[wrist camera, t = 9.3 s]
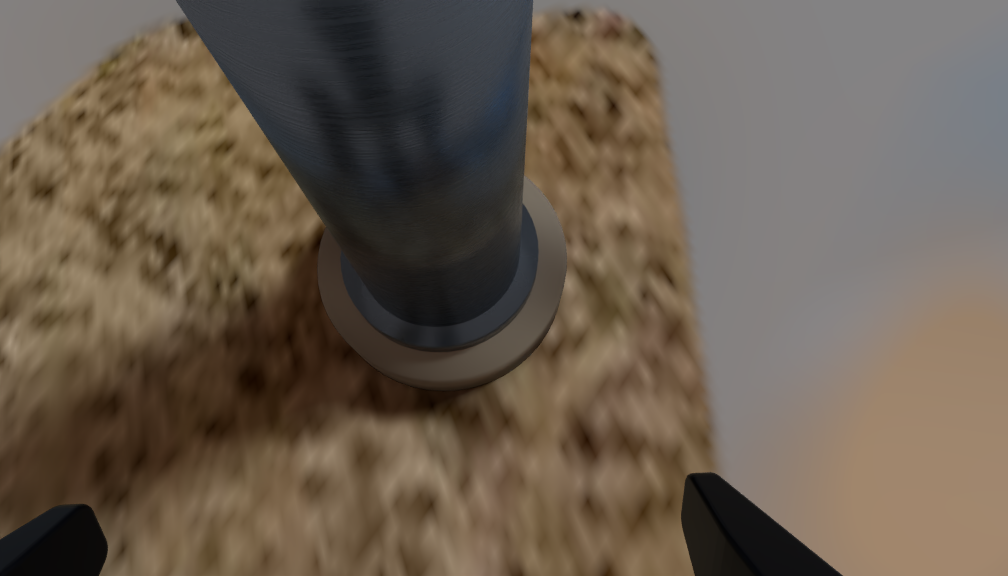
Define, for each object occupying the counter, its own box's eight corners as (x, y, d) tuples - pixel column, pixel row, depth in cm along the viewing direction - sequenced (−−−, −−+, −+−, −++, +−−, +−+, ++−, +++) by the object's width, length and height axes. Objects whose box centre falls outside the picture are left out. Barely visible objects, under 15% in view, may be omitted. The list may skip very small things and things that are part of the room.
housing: (451, 393, 18) (290, 87, 5) (307, 272, 19) (-132, -227, 6) (575, 246, 19) (718, -284, 6) (434, 145, 21) (310, -460, 8)
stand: (529, 419, 19) (532, 410, 17) (298, 355, 20) (277, 340, 18) (584, 206, 22) (590, 179, 20) (379, 157, 23) (368, 127, 21)
